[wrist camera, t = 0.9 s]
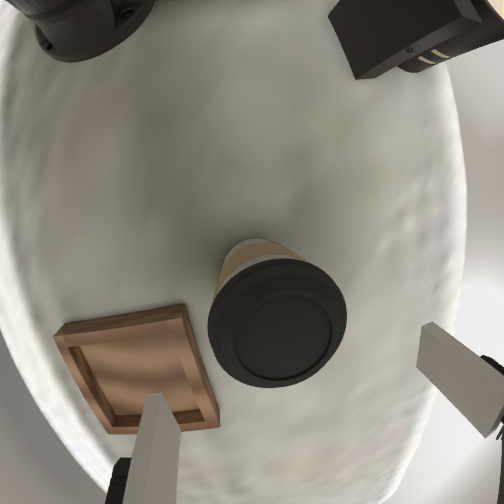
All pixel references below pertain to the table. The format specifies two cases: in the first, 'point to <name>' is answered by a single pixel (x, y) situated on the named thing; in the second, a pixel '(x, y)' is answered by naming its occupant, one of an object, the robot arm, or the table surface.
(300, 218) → the table surface
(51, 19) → the robot arm
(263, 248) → the coffee cup
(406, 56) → the light fixture
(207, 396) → the tray
